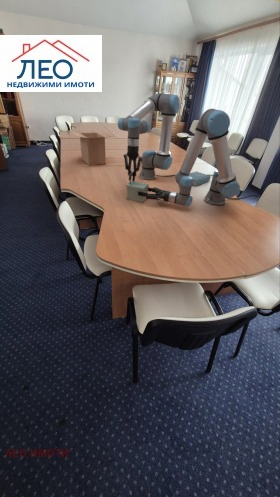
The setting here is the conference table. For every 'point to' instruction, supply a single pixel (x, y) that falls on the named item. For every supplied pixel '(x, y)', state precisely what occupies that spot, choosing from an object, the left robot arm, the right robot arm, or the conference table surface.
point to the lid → (136, 183)
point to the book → (199, 178)
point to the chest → (136, 194)
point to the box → (92, 146)
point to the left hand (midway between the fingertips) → (131, 180)
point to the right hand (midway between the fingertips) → (140, 190)
